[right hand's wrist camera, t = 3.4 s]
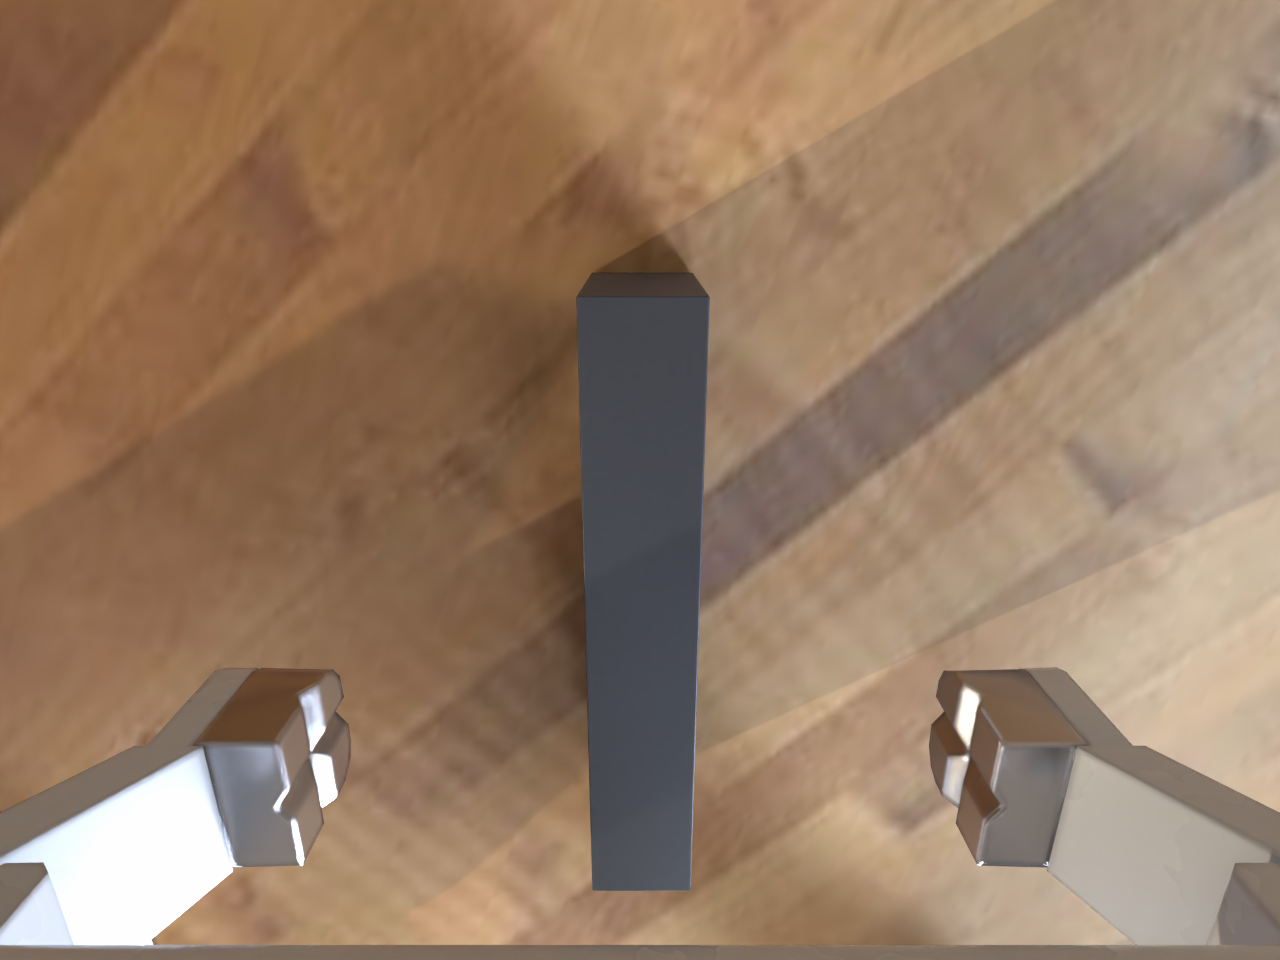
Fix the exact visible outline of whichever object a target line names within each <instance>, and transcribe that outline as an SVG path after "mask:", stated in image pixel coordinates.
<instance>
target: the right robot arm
mask: <svg viewBox="0 0 1280 960" xmlns="http://www.w3.org/2000/svg"><path fill="white" fill-rule="evenodd" d="M343 697H344V695H343V690H342V685H341V680H340V676H339V675H338V674H337V673H336V672H335V671H334V670H327V669H280V668H261V669H258V668H223V669H220V670H217V671H214V672H213V673H212V675H211V676H210V677H209V678H208V679H207V680H206V681H205V682H204V683H203V685H202V686H201V687H200V688H199V689H198V690H197V691H196V692H195V693H194V694H193V696H192V697H191V698H190V699H189V700H188V701H187V702H186V703H185V704H184V706H183V707H182V708H181V709H180V710H179V711H178V712H177V713H176V714H175V715H174V717H173V718H172V719H171V720H170V721H169V722H168V723H167V724H166V725H165V727H164V728H163V729H162V730H161V731H160V732H159V733H158V734H157V735H156V736H155V738H154V739H153V740H152V741H151V742H150V743H149V744H148V745H147V746H134V747H132V748H130V749H127V750H125V751H123V752H121V753H119V754H117V755H115V756H113V757H111V758H109V759H107V760H105V761H103V762H101V763H99V764H97V765H95V766H93V767H91V768H89V769H87V770H85V771H83V772H81V773H79V774H77V775H75V776H73V777H71V778H69V779H67V780H65V781H63V782H61V783H59V784H57V785H55V786H53V787H51V788H49V789H47V790H45V791H43V792H41V793H39V794H37V795H35V796H33V797H31V798H29V799H27V800H25V801H23V802H21V803H19V804H17V805H15V806H13V807H11V808H9V809H7V810H5V811H3V812H0V960H1280V813H1279V812H1277V811H1275V810H1273V809H1271V808H1269V807H1267V806H1265V805H1263V804H1261V803H1259V802H1257V801H1255V800H1253V799H1251V798H1249V797H1247V796H1245V795H1243V794H1241V793H1239V792H1237V791H1235V790H1233V789H1231V788H1229V787H1227V786H1225V785H1223V784H1221V783H1219V782H1217V781H1215V780H1213V779H1211V778H1209V777H1207V776H1205V775H1203V774H1201V773H1199V772H1197V771H1195V770H1193V769H1191V768H1189V767H1187V766H1185V765H1183V764H1181V763H1179V762H1177V761H1175V760H1173V759H1171V758H1169V757H1167V756H1165V755H1163V754H1161V753H1159V752H1157V751H1155V750H1153V749H1150V748H1148V747H1146V746H1133V745H1132V744H1131V743H1130V742H1129V741H1128V740H1127V739H1126V738H1125V737H1124V735H1123V734H1122V733H1121V732H1120V731H1119V730H1118V729H1117V728H1116V727H1115V725H1114V724H1113V723H1112V722H1111V721H1110V720H1109V719H1108V718H1107V717H1106V715H1105V714H1104V713H1103V712H1102V711H1101V710H1100V709H1099V708H1098V707H1097V706H1096V704H1095V703H1094V702H1093V701H1092V700H1091V699H1090V698H1089V697H1088V696H1087V694H1086V693H1085V692H1084V691H1083V690H1082V689H1081V688H1080V687H1079V686H1078V685H1077V683H1076V682H1075V681H1074V680H1073V679H1072V678H1071V677H1070V676H1069V675H1068V673H1067V672H1065V671H1063V670H1061V669H1059V668H1057V667H1054V668H1025V669H1014V670H953V671H943V673H942V675H941V677H940V679H939V683H938V689H937V694H936V697H937V699H938V701H939V703H940V704H941V706H942V708H943V710H944V712H943V713H942V714H941V715H940V716H939V717H938V718H937V719H936V720H935V721H934V723H933V724H932V725H931V733H930V741H929V751H930V762H931V768H932V772H933V775H934V779H935V782H936V784H937V786H938V788H939V790H940V792H941V794H942V797H944V798H945V799H946V800H948V801H949V802H951V803H952V804H954V805H955V806H956V807H958V808H959V809H958V814H957V820H956V824H957V826H958V828H959V830H960V832H961V834H962V836H963V838H964V840H965V842H966V844H967V846H968V848H969V850H970V852H971V854H972V856H973V858H974V859H975V861H976V863H977V865H982V866H1018V867H1048V868H1047V871H1048V872H1049V873H1050V874H1052V875H1053V876H1054V877H1055V878H1056V879H1058V880H1059V881H1060V882H1061V883H1062V884H1064V885H1065V886H1066V887H1067V888H1068V889H1070V890H1071V891H1072V892H1073V893H1074V894H1075V895H1077V896H1078V897H1079V898H1080V899H1081V900H1083V901H1084V902H1085V903H1086V904H1087V905H1089V906H1090V907H1091V908H1092V909H1093V910H1095V911H1096V912H1097V913H1098V914H1099V915H1101V916H1102V917H1103V918H1104V919H1105V920H1107V921H1108V922H1109V923H1110V924H1111V925H1112V926H1114V927H1115V928H1116V929H1117V930H1118V931H1120V932H1121V933H1122V934H1123V935H1124V936H1126V937H1127V938H1128V939H1129V940H1130V941H1132V942H1133V943H1134V944H1135V945H153V942H152V940H151V939H152V938H153V937H155V936H156V935H157V934H158V933H159V932H161V931H162V930H163V929H164V928H165V927H167V926H168V925H169V924H170V923H171V922H173V921H174V920H175V919H176V918H177V917H179V916H180V915H181V914H182V913H183V912H184V911H186V910H187V909H188V908H189V907H190V906H192V905H193V904H194V903H195V902H196V901H198V900H199V899H200V898H201V897H202V896H204V895H205V894H206V893H207V892H208V891H210V890H211V889H212V888H213V887H214V886H216V885H217V884H218V883H219V882H220V881H222V880H223V879H224V878H225V877H226V876H228V875H229V874H230V873H231V872H232V871H233V869H232V867H261V866H296V865H303V864H304V862H305V860H306V858H307V856H308V854H309V852H310V850H311V848H312V846H313V844H314V842H315V840H316V838H317V836H318V834H319V832H320V830H321V828H322V826H323V824H324V820H323V814H322V809H321V808H322V807H324V806H325V805H326V804H328V803H329V802H331V801H332V800H334V799H335V798H336V797H338V794H339V792H340V790H341V788H342V786H343V784H344V782H345V780H346V775H347V771H348V766H349V762H350V751H351V739H350V732H349V725H348V724H347V723H346V721H345V720H344V719H343V718H342V717H341V716H340V715H339V714H338V713H337V712H336V710H337V708H338V706H339V704H340V703H341V701H342V699H343Z"/></svg>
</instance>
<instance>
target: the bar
mask: <svg viewBox="0 0 1280 960" xmlns="http://www.w3.org/2000/svg"><path fill="white" fill-rule="evenodd" d="M576 298H577V335H578V373H579V410H580V447H581V484H582V521H583V559H584V596H585V633H586V670H587V707H588V745H589V782H590V819H591V856H592V890H593V891H690V890H691V860H692V829H693V798H694V767H695V736H696V704H697V673H698V642H699V611H700V580H701V548H702V517H703V486H704V455H705V424H706V392H707V361H708V330H709V299H710V298H709V296H708V294H707V293H706V291H705V290H704V289H703V287H702V286H701V284H700V283H699V281H698V280H697V279H696V277H695V276H694V274H693V273H592V274H591V275H590V277H589V278H588V280H587V282H586V283H585V285H584V286H583V288H582V289H581V291H580V292H579V294H578V295H577V297H576Z"/></svg>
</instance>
